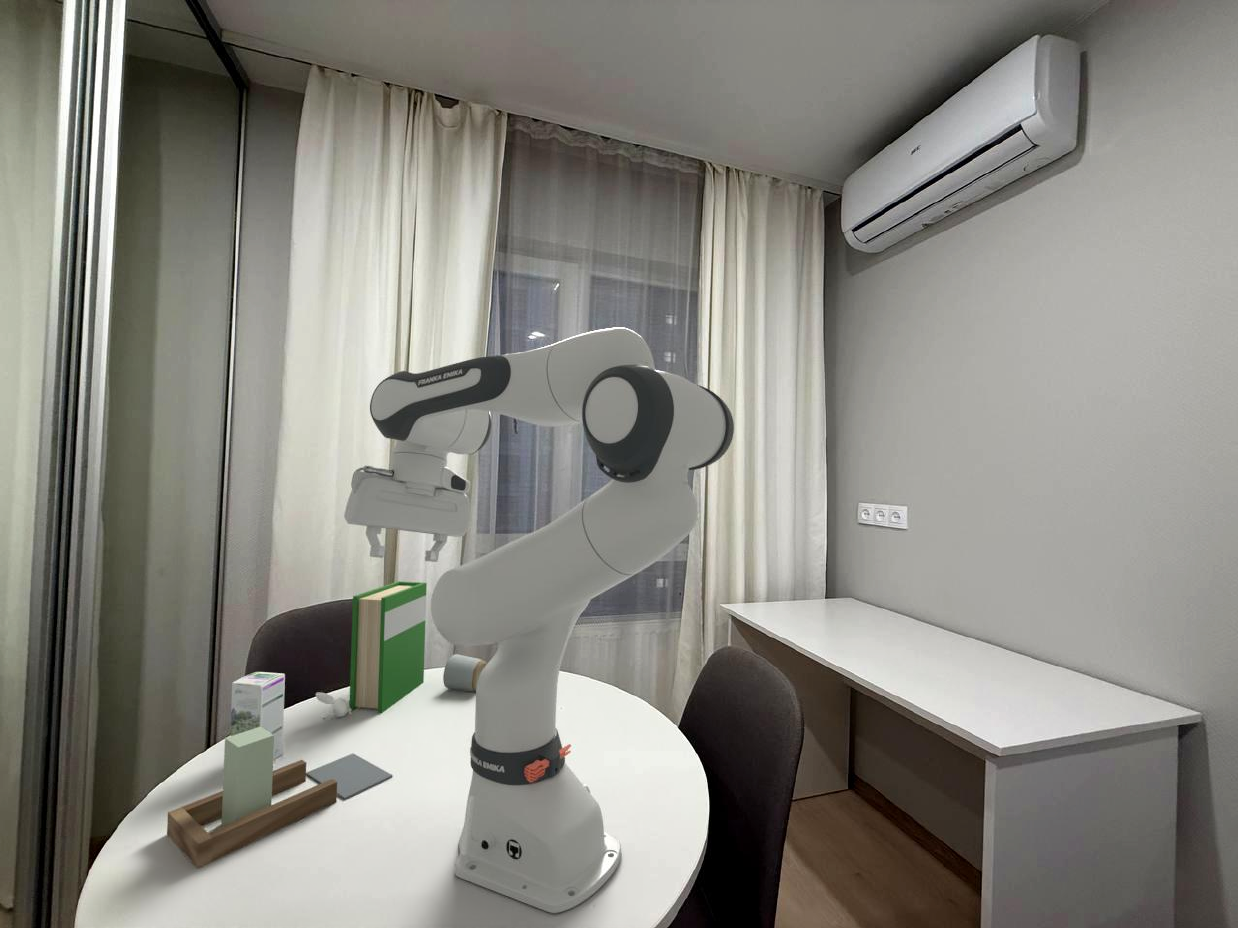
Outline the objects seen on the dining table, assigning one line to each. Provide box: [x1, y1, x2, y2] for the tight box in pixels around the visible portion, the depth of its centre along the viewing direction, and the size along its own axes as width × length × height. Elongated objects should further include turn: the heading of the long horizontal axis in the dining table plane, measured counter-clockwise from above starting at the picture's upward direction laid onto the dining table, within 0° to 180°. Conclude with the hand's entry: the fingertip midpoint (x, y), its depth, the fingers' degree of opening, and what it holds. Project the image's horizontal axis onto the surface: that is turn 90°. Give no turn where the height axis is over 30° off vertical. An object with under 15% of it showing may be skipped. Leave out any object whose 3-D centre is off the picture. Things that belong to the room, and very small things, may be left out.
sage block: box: [221, 727, 274, 827], centre depth 77 cm, size 4×4×12 cm
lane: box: [166, 759, 338, 869], centre depth 78 cm, size 11×18×3 cm, turn 145°
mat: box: [306, 752, 393, 800], centre depth 90 cm, size 12×8×1 cm, turn 55°
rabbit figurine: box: [315, 692, 353, 722], centre depth 110 cm, size 6×4×8 cm
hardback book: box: [348, 581, 428, 714], centre depth 123 cm, size 18×7×24 cm, turn 172°
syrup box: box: [230, 671, 286, 762], centre depth 94 cm, size 6×6×14 cm
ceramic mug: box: [442, 653, 488, 693], centre depth 129 cm, size 11×8×8 cm
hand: (404, 559), depth 87 cm, fingers open, 8 cm apart
